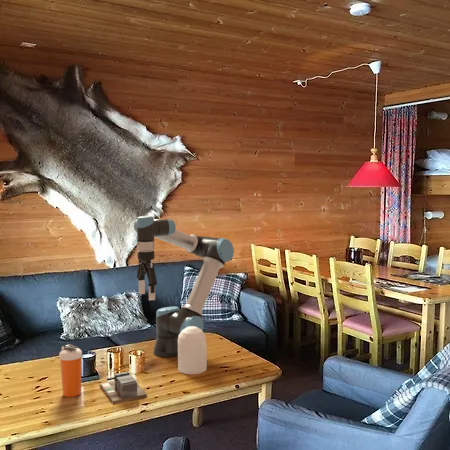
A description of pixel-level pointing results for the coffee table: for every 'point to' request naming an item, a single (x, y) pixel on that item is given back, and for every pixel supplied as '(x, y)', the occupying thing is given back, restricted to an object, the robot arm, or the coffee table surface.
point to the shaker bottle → (71, 370)
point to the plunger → (118, 376)
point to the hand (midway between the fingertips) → (146, 297)
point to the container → (192, 351)
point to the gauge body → (123, 389)
